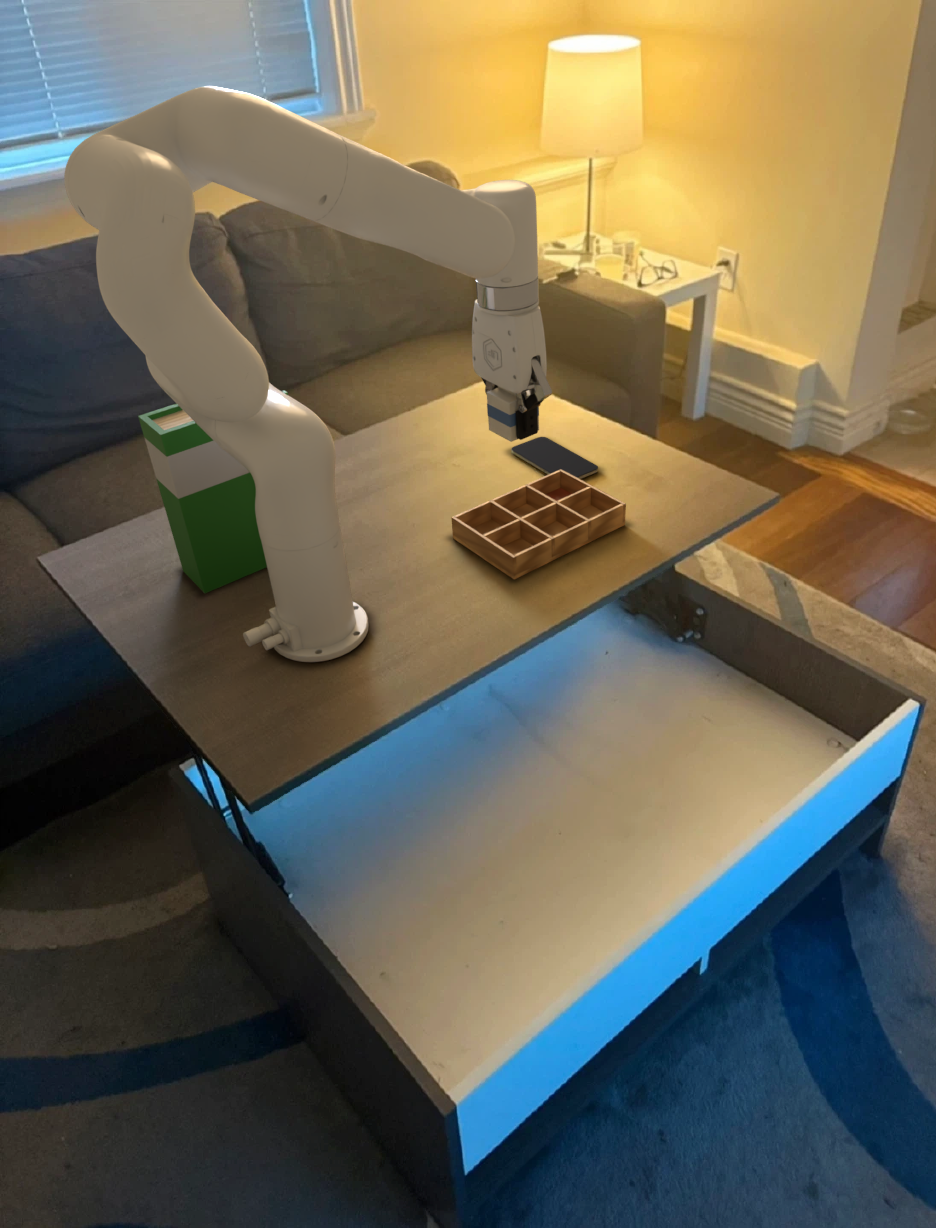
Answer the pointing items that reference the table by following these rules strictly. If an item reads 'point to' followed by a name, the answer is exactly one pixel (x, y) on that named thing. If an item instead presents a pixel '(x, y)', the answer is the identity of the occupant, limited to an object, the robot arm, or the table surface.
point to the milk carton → (503, 412)
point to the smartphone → (553, 458)
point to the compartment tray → (538, 522)
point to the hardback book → (204, 500)
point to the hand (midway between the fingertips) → (513, 427)
